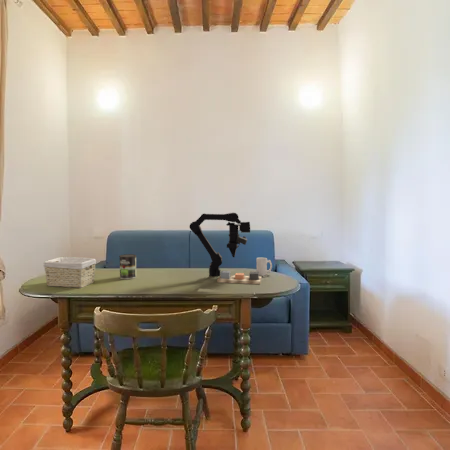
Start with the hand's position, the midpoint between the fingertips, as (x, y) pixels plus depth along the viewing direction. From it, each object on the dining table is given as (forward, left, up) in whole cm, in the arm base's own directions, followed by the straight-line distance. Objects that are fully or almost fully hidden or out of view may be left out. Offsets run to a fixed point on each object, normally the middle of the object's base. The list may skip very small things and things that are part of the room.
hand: (233, 257), depth 205 cm
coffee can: (-66, -11, -13) cm, 68 cm away
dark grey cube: (+14, -13, -12) cm, 22 cm away
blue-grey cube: (-3, -13, -12) cm, 18 cm away
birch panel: (+5, -13, -13) cm, 19 cm away
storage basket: (-91, -33, -13) cm, 98 cm away
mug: (+19, +5, -13) cm, 24 cm away
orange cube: (+5, -13, -13) cm, 19 cm away
